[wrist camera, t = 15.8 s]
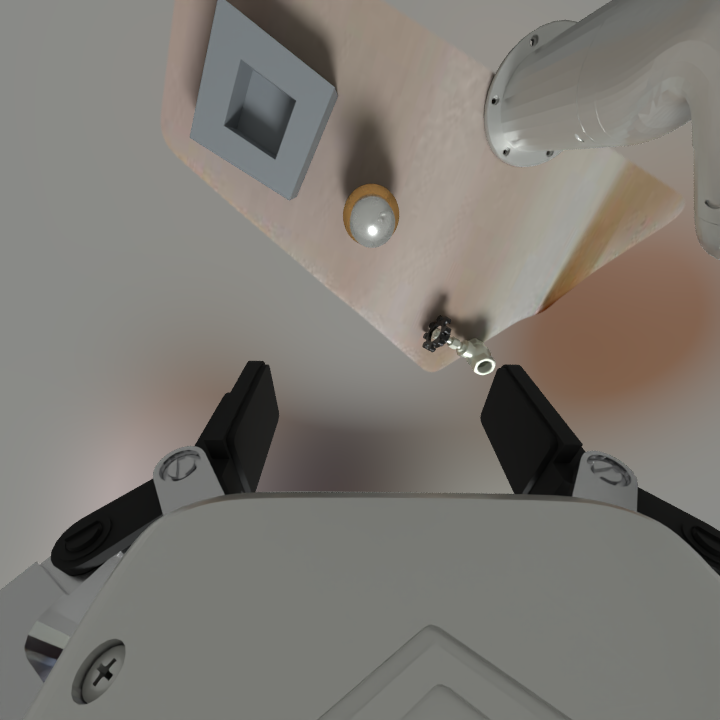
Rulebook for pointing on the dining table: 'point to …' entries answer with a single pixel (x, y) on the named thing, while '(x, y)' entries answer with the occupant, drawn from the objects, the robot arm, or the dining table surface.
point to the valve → (460, 346)
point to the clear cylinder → (371, 215)
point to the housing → (259, 103)
